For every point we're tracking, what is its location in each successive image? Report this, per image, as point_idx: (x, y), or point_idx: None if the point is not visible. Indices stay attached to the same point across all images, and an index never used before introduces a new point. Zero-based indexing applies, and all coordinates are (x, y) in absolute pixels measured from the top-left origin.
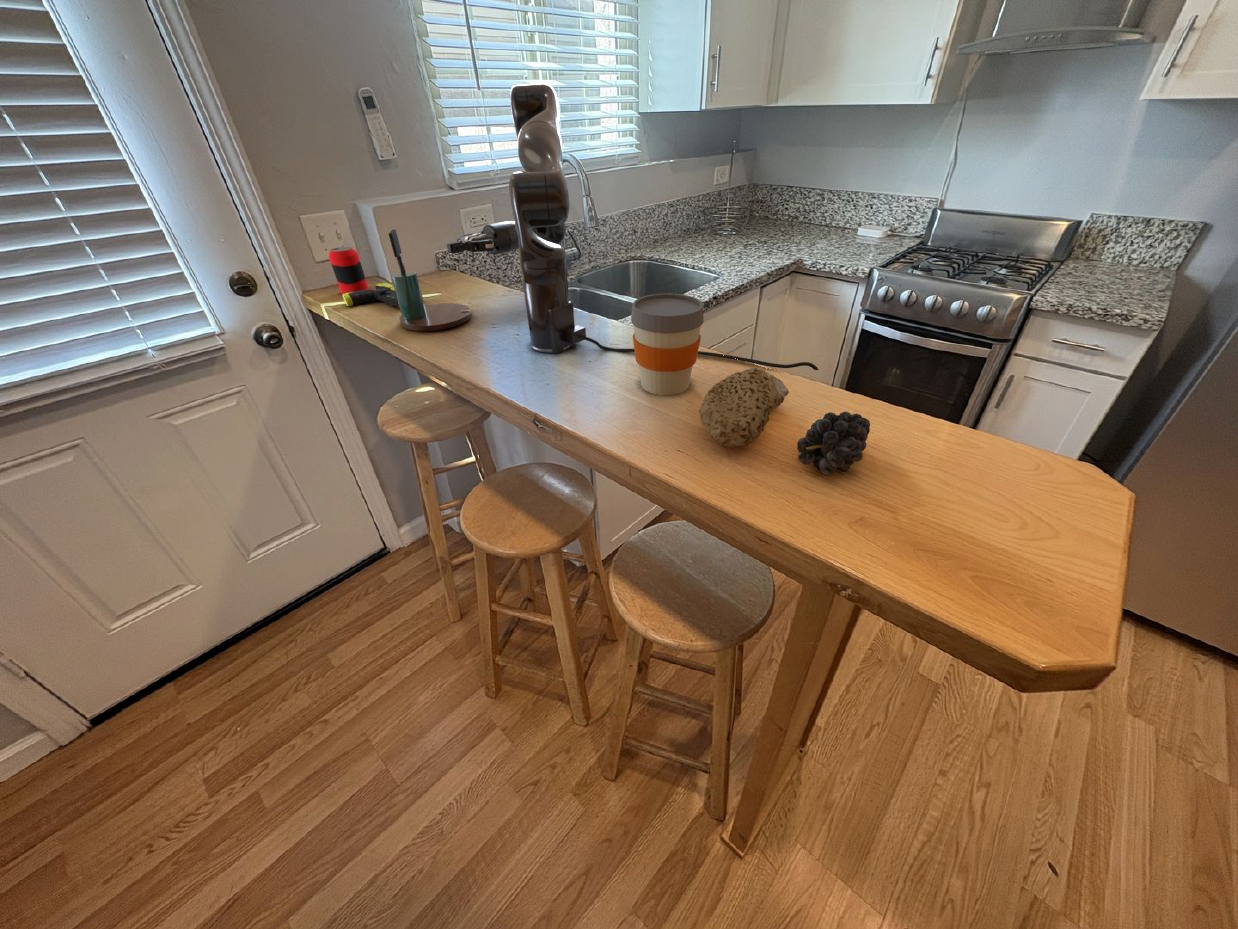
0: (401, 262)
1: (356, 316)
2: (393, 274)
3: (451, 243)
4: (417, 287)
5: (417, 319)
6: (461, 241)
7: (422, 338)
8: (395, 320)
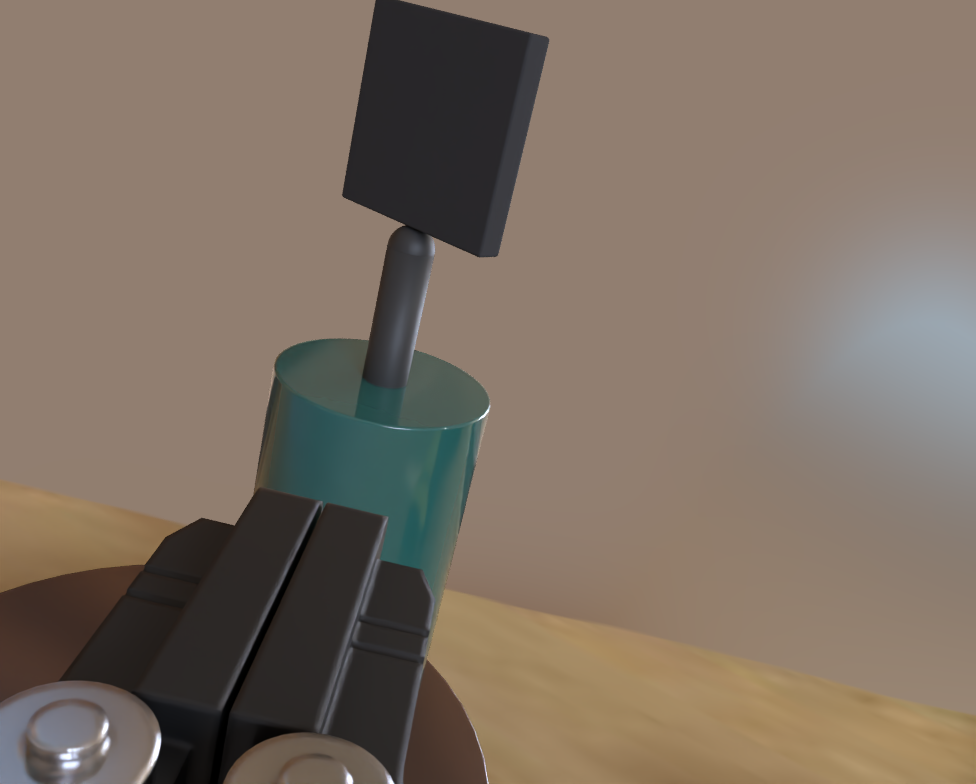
0: (381, 280)
1: (790, 694)
2: (444, 370)
3: (312, 539)
4: (259, 477)
5: None
6: (236, 771)
7: (48, 564)
8: (503, 714)
